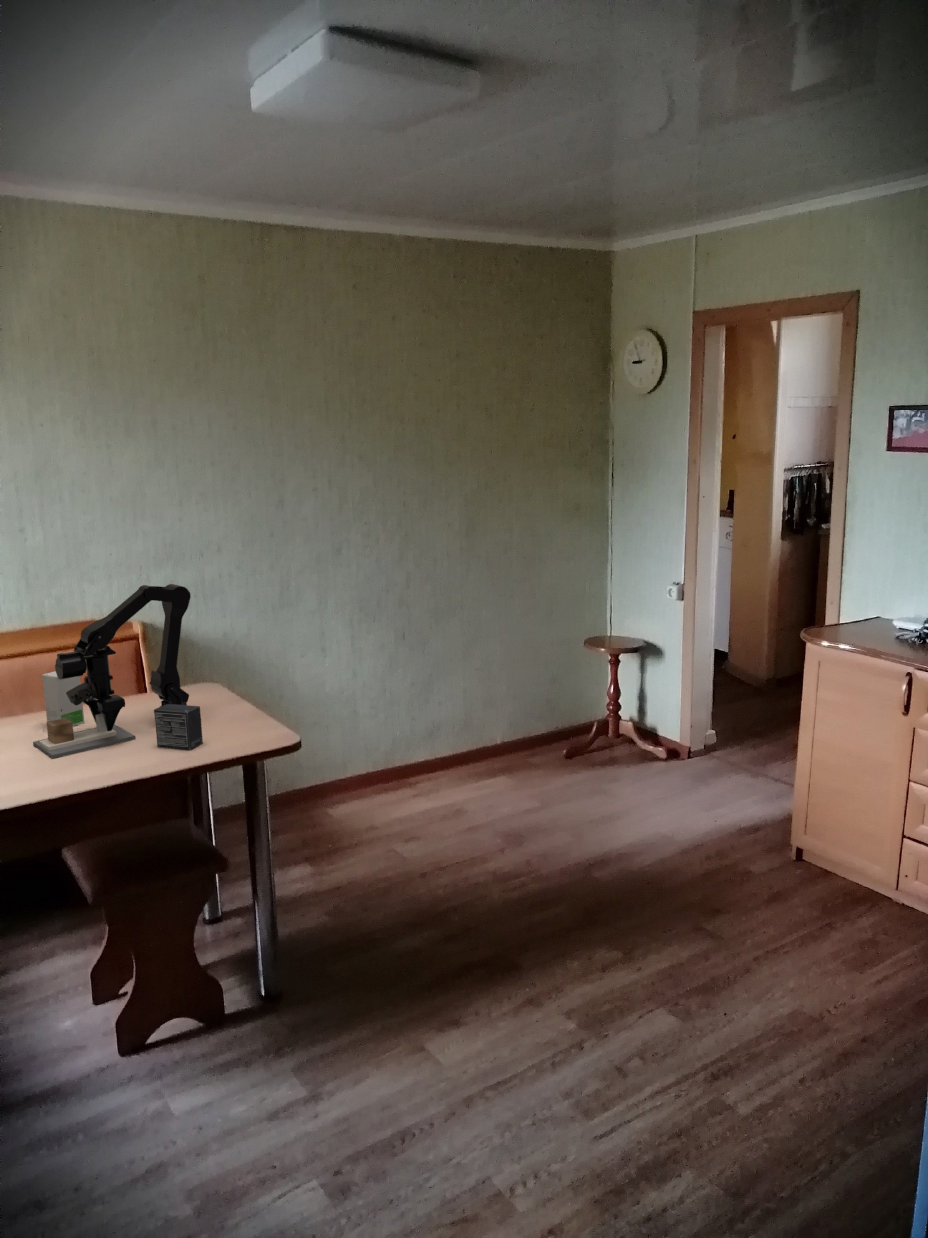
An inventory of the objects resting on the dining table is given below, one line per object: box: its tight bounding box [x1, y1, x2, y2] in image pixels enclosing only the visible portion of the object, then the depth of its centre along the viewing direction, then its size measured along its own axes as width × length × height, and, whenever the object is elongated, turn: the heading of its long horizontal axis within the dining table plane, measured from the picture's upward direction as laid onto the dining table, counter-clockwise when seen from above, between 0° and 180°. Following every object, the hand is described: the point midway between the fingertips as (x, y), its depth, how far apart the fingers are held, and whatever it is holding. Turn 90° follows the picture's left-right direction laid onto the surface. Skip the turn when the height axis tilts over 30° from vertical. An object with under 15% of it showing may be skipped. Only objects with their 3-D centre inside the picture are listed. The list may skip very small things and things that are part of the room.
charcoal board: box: [32, 723, 136, 760], centre depth 260 cm, size 22×15×1 cm
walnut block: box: [45, 718, 74, 744], centre depth 256 cm, size 5×5×5 cm
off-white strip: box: [39, 714, 117, 751], centre depth 259 cm, size 18×7×6 cm, turn 131°
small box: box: [153, 704, 204, 751], centre depth 255 cm, size 11×6×10 cm, turn 71°
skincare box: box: [41, 670, 85, 727], centre depth 275 cm, size 8×7×16 cm
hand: (104, 727), depth 263 cm, fingers open, 8 cm apart
